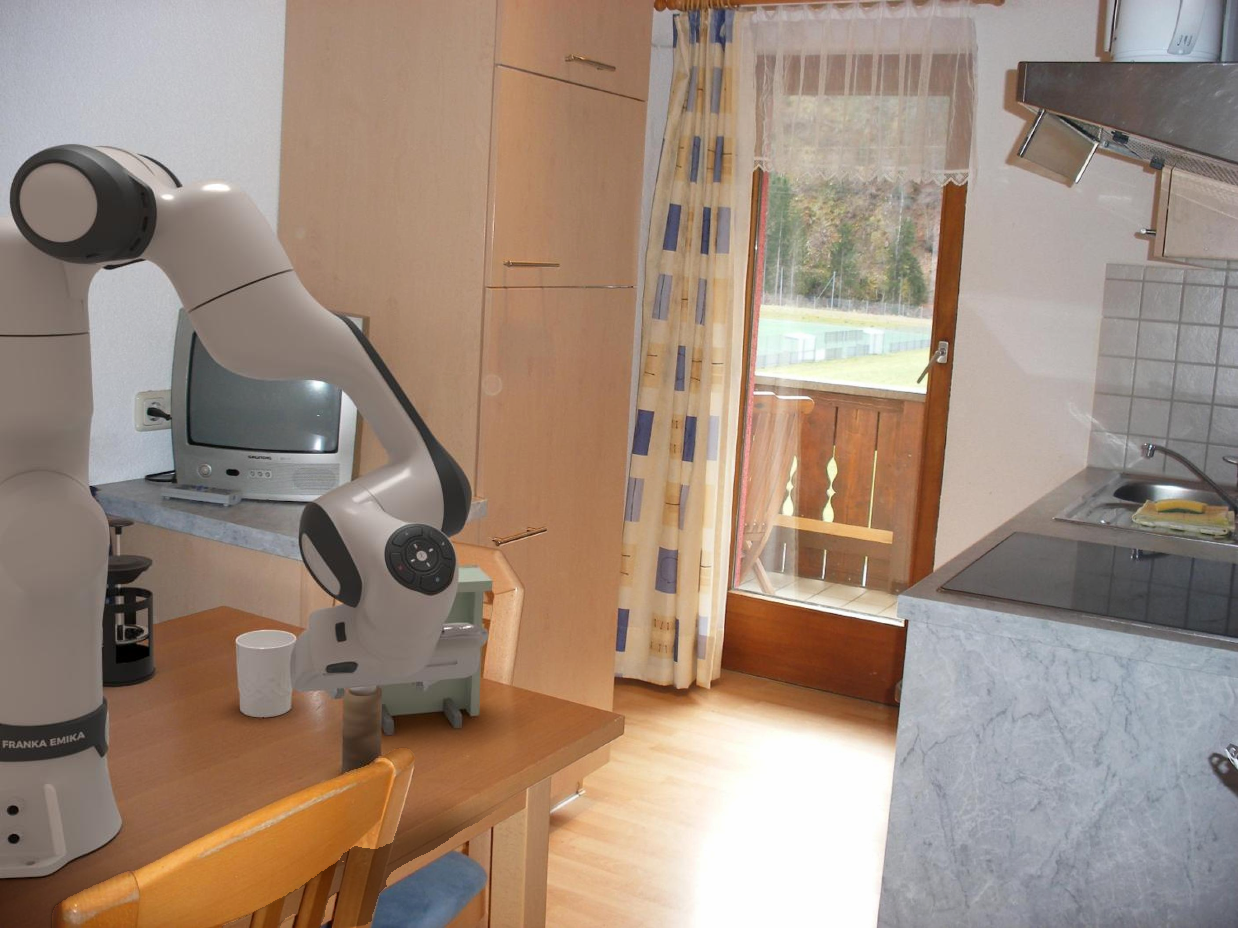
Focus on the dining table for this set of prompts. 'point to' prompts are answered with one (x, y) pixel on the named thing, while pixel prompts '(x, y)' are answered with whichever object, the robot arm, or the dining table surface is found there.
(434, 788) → the dining table surface
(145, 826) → the dining table surface
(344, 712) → the pepper mill
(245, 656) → the white cup
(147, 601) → the french press
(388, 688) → the shelf
